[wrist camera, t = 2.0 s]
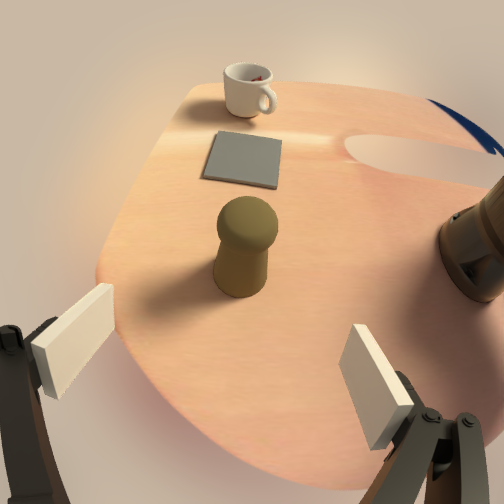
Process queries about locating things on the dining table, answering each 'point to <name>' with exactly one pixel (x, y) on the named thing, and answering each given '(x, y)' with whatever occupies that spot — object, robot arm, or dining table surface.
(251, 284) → the pepper mill
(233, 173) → the coaster
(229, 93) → the cup
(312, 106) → the dining table surface
